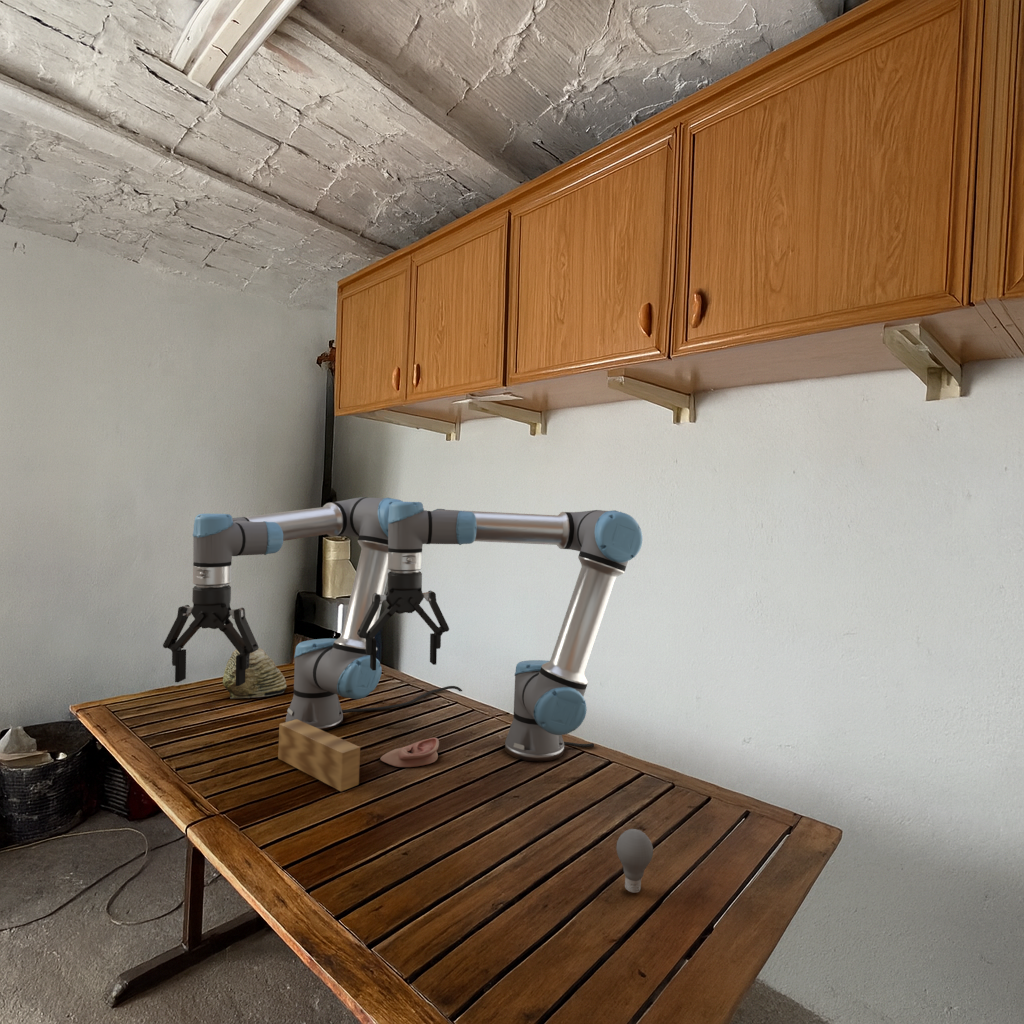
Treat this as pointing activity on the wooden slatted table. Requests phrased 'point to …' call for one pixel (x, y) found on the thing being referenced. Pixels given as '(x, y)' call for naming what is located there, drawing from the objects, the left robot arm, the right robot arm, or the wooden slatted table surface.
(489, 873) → the wooden slatted table surface
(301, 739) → the bar
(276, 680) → the fossil
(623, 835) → the light bulb
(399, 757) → the anatomical model
